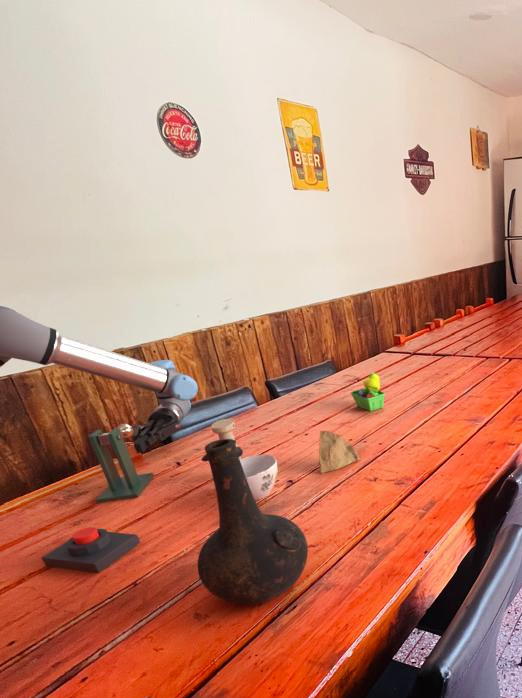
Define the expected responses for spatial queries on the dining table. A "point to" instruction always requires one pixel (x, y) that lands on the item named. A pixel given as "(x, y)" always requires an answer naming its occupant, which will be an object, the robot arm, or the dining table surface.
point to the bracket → (118, 485)
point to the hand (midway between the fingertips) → (138, 448)
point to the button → (85, 536)
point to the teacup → (260, 474)
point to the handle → (224, 429)
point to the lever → (125, 431)
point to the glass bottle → (247, 538)
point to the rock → (335, 452)
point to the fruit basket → (369, 394)
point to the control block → (92, 552)
